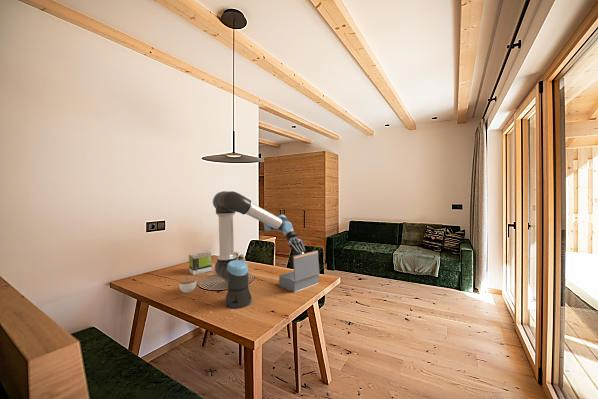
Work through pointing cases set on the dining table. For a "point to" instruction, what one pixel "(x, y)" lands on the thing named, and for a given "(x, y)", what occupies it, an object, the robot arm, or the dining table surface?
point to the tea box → (200, 262)
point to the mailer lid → (305, 265)
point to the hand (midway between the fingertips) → (306, 261)
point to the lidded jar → (187, 284)
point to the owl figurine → (241, 257)
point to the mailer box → (297, 282)
